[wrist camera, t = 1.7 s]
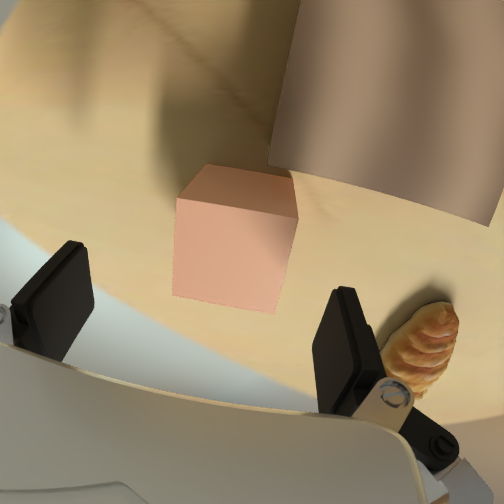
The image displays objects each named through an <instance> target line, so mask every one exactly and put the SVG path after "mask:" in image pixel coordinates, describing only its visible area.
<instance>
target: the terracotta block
mask: <svg viewBox="0 0 504 504" xmlns="http://www.w3.org/2000/svg"><path fill="white" fill-rule="evenodd" d="M298 219H299V218H298V211H297V204H296V197H295V190H294V184H293V178H288V177H283V176H278V175H272V174H267V173H261V172H256V171H250V170H244V169H238V168H232V167H225V166H219V165H212V164H206V165H205V166H204V167H203V168H202V169H201V170H200V172H199V173H198V174H197V175H196V176H195V177H194V178H193V180H192V181H191V182H190V183H189V184H188V185H187V186H186V188H185V189H184V190H183V191H182V192H181V193H180V195H179V196H178V197H177V201H176V216H175V233H174V254H173V285H172V295H173V296H178V297H183V298H188V299H193V300H198V301H203V302H208V303H213V304H219V305H224V306H230V307H235V308H241V309H247V310H252V311H258V312H264V313H270V314H275V310H276V307H277V303H278V299H279V295H280V291H281V287H282V284H283V280H284V276H285V272H286V268H287V264H288V260H289V256H290V252H291V248H292V244H293V240H294V236H295V232H296V228H297V224H298Z"/></svg>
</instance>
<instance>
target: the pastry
mask: <svg viewBox="0 0 504 504" xmlns="http://www.w3.org/2000/svg"><path fill="white" fill-rule="evenodd" d="M458 326H459V320H458V317H457V315H456V313H455V311H454V308H453V306H452V304H451V303H447V302H436V303H432V304H428V305H424V306H422V307H421V308H419V309H418V310H417V311H416V312H415V313H414V314H413V316H412V317H411V318H410V319H409V320H408V321H407V322H405V323H404V324H403V325H402V326H401V327H400V328H398V329H397V330H395V331H394V332H393V333H392V334H391V335H390V337H389V340H388V342H387V343H386V344H385V345H384V347H383V349H382V350H381V351H380V355H381V358H382V362H383V365H384V368H385V371H386V375H387V377H394V378H398V379H400V380H402V381H404V382H405V383H406V384H408V385H409V387H410V388H411V389H412V391H413V393H414V399H415V400H419V399H421V398H422V397H423V394H425V393H426V392H427V390H428V388H429V387H430V386H431V385H432V384H433V383H434V382H435V381H436V380H438V378H439V376H441V375H442V373H444V371H445V370H446V368H447V365H448V362H449V360H450V357H451V355H452V353H453V349H454V345H455V342H456V336H457V334H458Z"/></svg>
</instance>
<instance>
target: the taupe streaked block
mask: <svg viewBox="0 0 504 504" xmlns="http://www.w3.org/2000/svg"><path fill="white" fill-rule="evenodd" d="M267 165H269V166H274V167H278V168H283V169H288V170H292V171H297V172H302V173H306V174H310V175H315V176H319V177H323V178H327V179H332V180H336V181H340V182H344V183H348V184H351V185H355V186H359V187H363V188H367V189H370V190H374V191H378V192H381V193H385V194H388V195H392V196H395V197H399V198H402V199H406V200H409V201H412V202H416V203H419V204H422V205H425V206H428V207H432V208H435V209H438V210H441V211H444V212H447V213H450V214H453V215H456V216H459V217H462V218H465V219H468V220H470V221H473V222H476V223H479V224H482V225H484V226H487V227H489V224H490V222H491V220H492V217H493V215H494V212H495V209H496V207H497V204H498V202H499V199H500V196H501V193H502V191H503V188H504V1H503V0H300V2H299V6H298V11H297V16H296V21H295V25H294V30H293V35H292V40H291V45H290V49H289V54H288V59H287V64H286V69H285V73H284V78H283V83H282V88H281V93H280V98H279V102H278V107H277V112H276V117H275V122H274V127H273V132H272V136H271V141H270V146H269V154H268V161H267Z"/></svg>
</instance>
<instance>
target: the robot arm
mask: <svg viewBox="0 0 504 504" xmlns="http://www.w3.org/2000/svg"><path fill="white" fill-rule="evenodd" d="M11 304H12V306H11V307H10V308H8V307H7V306H6V305H4V304H0V504H493V503H494V496H493V492H492V490H491V489H490V487H489V486H488V485H487V484H486V483H485V481H484V480H483V479H482V478H481V476H480V475H479V474H478V473H477V472H476V470H475V469H474V468H473V467H472V466H471V464H470V463H469V462H468V461H467V460H466V458H463V459H461V458H460V457H459V456H458V455H459V445H458V442H457V440H456V439H455V437H454V436H453V435H452V434H451V433H450V432H448V431H447V430H446V429H444V428H443V427H441V426H440V425H438V424H437V423H436V422H434V421H433V420H431V419H430V418H429V417H427V416H426V415H424V414H423V413H422V412H420V411H419V410H417V409H416V408H415V407H413V404H414V401H415V399H414V393H413V391H412V389H411V388H410V387H409V385H408V384H406V383H405V382H404V381H402V380H400V379H398V378H394V377H387V375H386V371H385V368H384V365H383V362H382V358H381V355H380V352H379V349H378V346H377V343H376V340H375V337H374V333H373V330H372V328H371V326H370V325H368V324H367V323H366V320H365V317H364V314H363V311H362V308H361V305H360V302H359V299H358V296H357V293H356V290H355V288H351V287H344V286H339V287H338V289H333V291H332V293H331V296H330V298H329V301H328V304H327V306H326V309H325V312H324V314H323V317H322V320H321V322H320V325H319V328H318V330H317V333H316V335H315V338H314V340H313V344H312V354H313V362H314V371H315V380H316V390H317V400H318V410H319V413H312V412H300V411H289V410H280V409H272V408H262V407H254V406H247V405H239V404H233V403H226V402H220V401H213V400H207V399H202V398H197V397H191V396H186V395H181V394H176V393H171V392H167V391H162V390H158V389H153V388H149V387H145V386H141V385H137V384H133V383H129V382H125V381H121V380H118V379H114V378H110V377H107V376H103V375H100V374H96V373H93V372H90V371H86V370H83V369H80V368H77V367H73V366H71V365H67V364H65V363H62V360H63V358H64V357H65V355H66V353H67V352H68V350H69V348H70V347H71V345H72V343H73V342H74V340H75V338H76V337H77V335H78V333H79V332H80V330H81V328H82V327H83V325H84V323H85V322H86V321H87V319H88V317H89V316H90V314H91V313H92V311H93V309H94V296H93V290H92V283H91V276H90V268H89V260H88V252H87V248H86V247H84V245H83V243H82V242H76V241H71V240H69V241H67V242H66V243H65V244H64V245H63V246H62V247H61V248H60V249H59V250H58V251H57V252H56V253H55V254H54V255H53V256H52V257H51V258H50V259H49V260H48V261H47V262H46V263H45V264H44V265H43V266H42V267H41V268H40V269H39V270H38V272H37V273H36V274H35V275H34V276H33V277H32V278H31V279H30V280H29V281H28V282H27V283H26V284H25V285H24V287H23V288H22V289H21V290H20V291H19V292H18V293H17V294H16V295H15V297H14V298H13V299H12V300H11Z"/></svg>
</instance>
